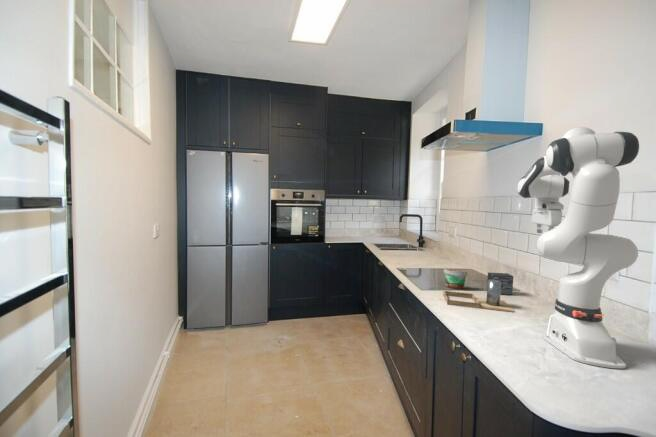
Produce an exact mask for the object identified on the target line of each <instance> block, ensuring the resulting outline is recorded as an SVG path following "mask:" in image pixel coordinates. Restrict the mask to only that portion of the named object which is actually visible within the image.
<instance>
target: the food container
mask: <svg viewBox="0 0 656 437" xmlns="http://www.w3.org/2000/svg"><path fill="white" fill-rule="evenodd" d="M443 273H444V281H445V282H444V283H445V287H446V288H448V289H451V290H455V291H457V290H459V291H460V290H461V291H462V290H464V287H465V281H466V278H467V277H466V276H468V271H467V270H466V271H460V270H456V269H455V270H451V269H450V270H448V269H446V268H444V269H443Z"/></svg>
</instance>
